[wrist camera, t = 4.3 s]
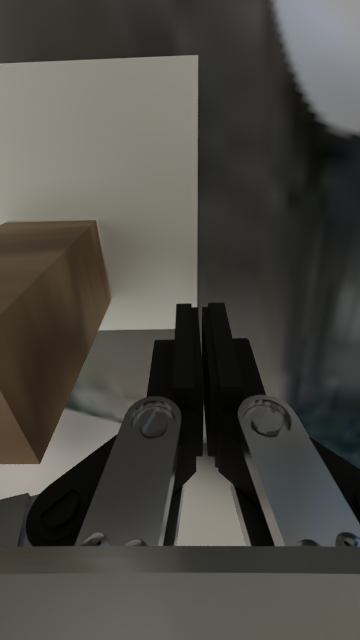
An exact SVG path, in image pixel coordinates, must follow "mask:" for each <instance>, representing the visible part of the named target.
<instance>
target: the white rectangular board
mask: <svg viewBox="0 0 360 640" xmlns="http://www.w3.org/2000/svg"><path fill="white" fill-rule="evenodd" d="M67 219H98V225H99V230H100V235H101V241H102V246H103V252H104V257H105V263H106V268H107V273H108V279H109V284H110V290H111V295H112V300H111V302H110V304H109V307H108V309H107V311H106V314H105V316H104V318H103V320H102V323H101V325H100V327H99V330H141V329H175V321H176V304H182V303H192V307H197V225H198V55H186V56H163V57H140V58H117V59H94V60H71V61H48V62H25V63H2V64H0V225H1V224H3V223H5V222H7V221H32V220H67Z"/></svg>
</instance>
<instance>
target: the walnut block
mask: <svg viewBox="0 0 360 640" xmlns="http://www.w3.org/2000/svg"><path fill="white" fill-rule="evenodd" d="M111 300H112V295H111V290H110V284H109V279H108V273H107V268H106V263H105V257H104V252H103V246H102V241H101V235H100V230H99V225H98V219H67V220H32V221H7V222H5V223H3V224H1V225H0V464H40V463H41V460H42V458H43V456H44V453H45V451H46V449H47V447H48V444H49V442H50V440H51V437H52V435H53V433H54V431H55V428H56V426H57V423H58V421H59V419H60V417H61V414H62V412H63V410H64V408H65V405H66V403H67V401H68V398H69V396H70V394H71V392H72V389H73V387H74V385H75V382H76V380H77V378H78V375H79V373H80V371H81V369H82V366H83V364H84V362H85V359H86V357H87V355H88V353H89V350H90V348H91V346H92V343H93V341H94V339H95V336H96V334H97V332H98V330H99V327H100V325H101V323H102V320H103V318H104V316H105V314H106V311H107V309H108V307H109V304H110V302H111Z"/></svg>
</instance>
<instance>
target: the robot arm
mask: <svg viewBox="0 0 360 640" xmlns="http://www.w3.org/2000/svg"><path fill="white" fill-rule="evenodd" d="M203 405H204V410H205V424H206V437H207V451H208V456H215V467H218V468H219V472H220V473H221V474H222V475H223V476H224V477H225V478H227V479H228V480H229V481H230V489H231V492H232V496H233V500H234V503H235V507H236V511H237V514H238V518H239V521H240V525H241V529H242V533H243V536H244V540H245V543H246V546H176V544H177V537H178V530H179V523H180V516H181V508H182V502H183V494H184V484H185V483H186V482H187V481H188V480H189V479H190V477H191V476H192V475H193V474H194V473H195V472H196V456H202V455H203V453H202V452H203ZM0 640H360V469H359V468H357V467H356V466H354V465H352V464H351V463H349V462H348V461H346V460H345V459H343V458H342V457H340V456H338V455H337V454H335V453H334V452H332V451H331V450H329V449H327V448H326V447H324V446H323V445H321V444H320V443H318V442H317V441H315V440H313V439H312V438H310V437H309V436H308V434H307V433H306V431H305V429H304V428H303V426H302V424H301V422H300V421H299V419H298V417H297V415H296V414H295V412H294V411H293V410H292V409H291V407H290V406H289V405H287V404H286V403H285V402H283V401H282V400H280V399H278V398H276V397H273V396H268V395H266V394H265V390H264V387H263V384H262V381H261V378H260V374H259V371H258V368H257V365H256V362H255V358H254V355H253V352H252V349H251V346H250V342H249V340H248V339H247V338H238V339H232V335H231V330H230V326H229V322H228V318H227V313H226V309H225V305H224V303H208V307H202V357H201V344H200V331H199V318H198V307H192V303H182V304H176V321H175V340H155V342H154V349H153V356H152V363H151V370H150V377H149V384H148V391H147V397H146V398H143V399H141V400H139V401H137V402H135V403H134V404H133V405H132V406H131V407H130V408H129V409H128V411H127V413H126V414H125V417H124V419H123V422H122V424H121V427H120V430H119V432H118V434H117V435H116V436H114V437H113V438H112V439H110V440H109V441H108V442H106V443H105V444H104V445H102V446H101V447H100V448H98V449H97V450H96V451H94V452H93V453H92V454H90V455H89V456H88V457H86V458H85V459H84V460H82V461H81V462H80V463H78V464H77V465H76V466H74V467H73V468H72V469H70V470H69V471H68V472H66V473H65V474H64V475H62V476H61V477H60V478H58V479H57V480H56V481H54V482H53V483H52V484H50V485H49V486H48V487H47V488H46V489H45V490H44V491H42V492H41V493H40V494H39V495H35V496H30V495H29V494H28V493H26V494H21V495H17V496H13V497H9V498H5V499H1V500H0Z"/></svg>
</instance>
